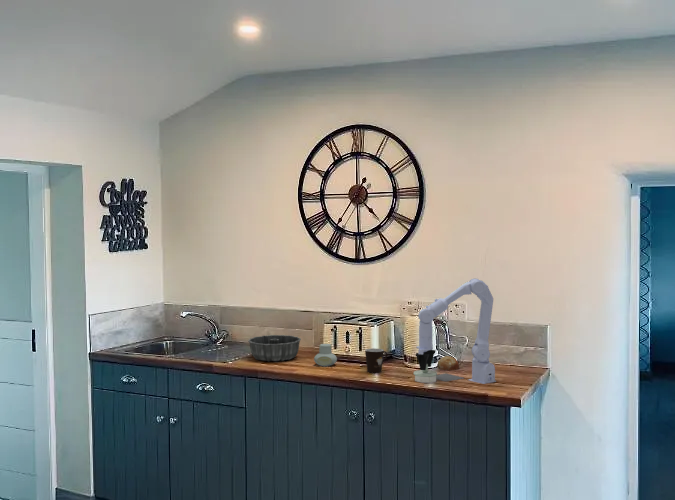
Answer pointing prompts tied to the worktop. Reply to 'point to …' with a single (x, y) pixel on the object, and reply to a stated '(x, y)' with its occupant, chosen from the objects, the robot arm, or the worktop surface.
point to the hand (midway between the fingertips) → (425, 368)
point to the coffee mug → (374, 360)
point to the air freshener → (325, 356)
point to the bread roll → (448, 363)
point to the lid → (425, 373)
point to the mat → (447, 377)
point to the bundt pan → (274, 347)
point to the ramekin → (425, 379)
